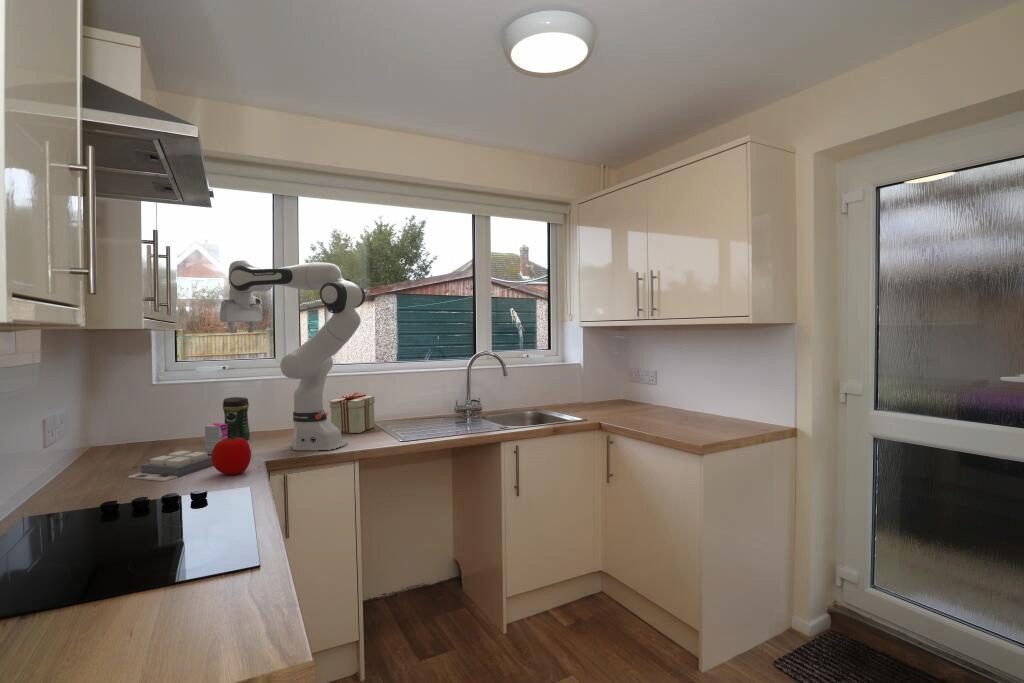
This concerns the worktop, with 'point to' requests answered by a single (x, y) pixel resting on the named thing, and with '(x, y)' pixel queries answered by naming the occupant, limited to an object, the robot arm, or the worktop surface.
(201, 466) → the button board
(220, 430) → the supplement box
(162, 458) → the button
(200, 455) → the button
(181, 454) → the button
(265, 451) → the worktop surface
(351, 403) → the gift box
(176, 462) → the button
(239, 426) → the coffee jar
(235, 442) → the tomato
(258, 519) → the worktop surface
